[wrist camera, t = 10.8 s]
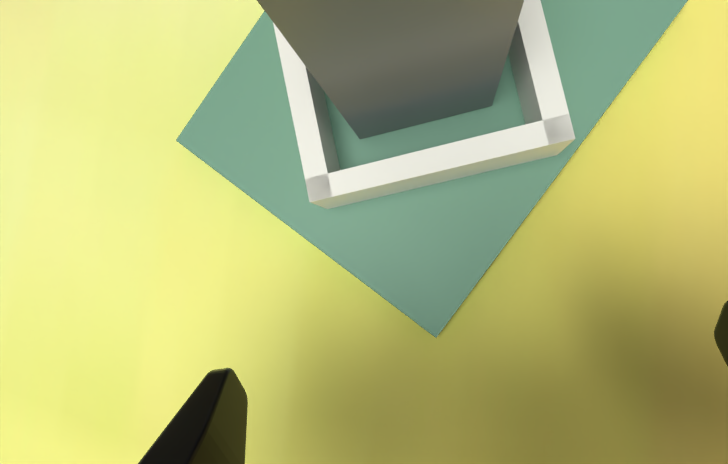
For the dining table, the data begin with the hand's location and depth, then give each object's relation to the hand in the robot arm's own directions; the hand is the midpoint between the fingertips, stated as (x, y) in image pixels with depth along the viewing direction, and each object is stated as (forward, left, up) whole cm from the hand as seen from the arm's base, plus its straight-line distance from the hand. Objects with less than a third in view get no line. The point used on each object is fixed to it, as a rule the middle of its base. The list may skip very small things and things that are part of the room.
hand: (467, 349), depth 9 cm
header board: (+6, -6, -10) cm, 13 cm away
